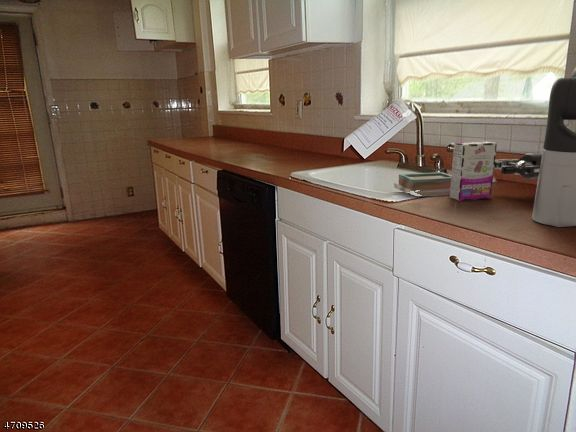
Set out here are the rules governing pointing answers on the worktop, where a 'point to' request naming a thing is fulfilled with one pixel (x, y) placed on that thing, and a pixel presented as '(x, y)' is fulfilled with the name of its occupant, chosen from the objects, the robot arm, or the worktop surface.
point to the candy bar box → (472, 170)
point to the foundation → (425, 183)
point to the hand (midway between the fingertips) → (492, 167)
